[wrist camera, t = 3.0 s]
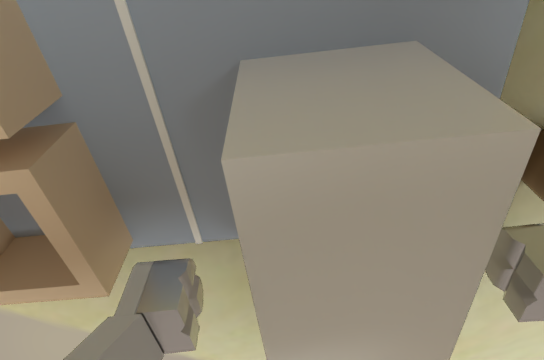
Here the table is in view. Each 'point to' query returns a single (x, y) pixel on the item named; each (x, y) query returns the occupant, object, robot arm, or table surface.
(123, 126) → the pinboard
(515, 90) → the table surface
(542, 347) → the table surface
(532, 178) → the pin
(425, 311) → the cover
